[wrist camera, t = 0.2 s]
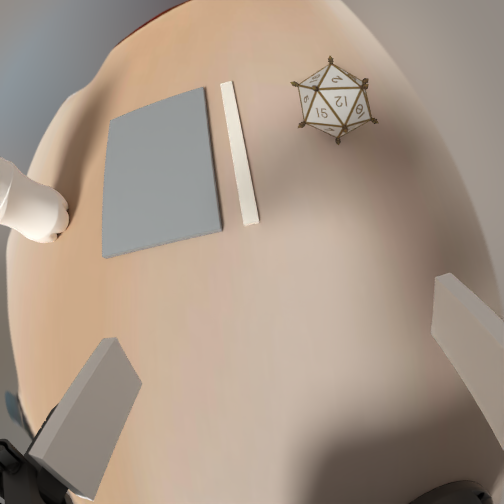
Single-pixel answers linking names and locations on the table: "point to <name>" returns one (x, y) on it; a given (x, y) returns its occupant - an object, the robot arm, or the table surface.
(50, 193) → the water bottle
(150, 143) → the mat
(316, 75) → the game die
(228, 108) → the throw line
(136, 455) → the table surface
